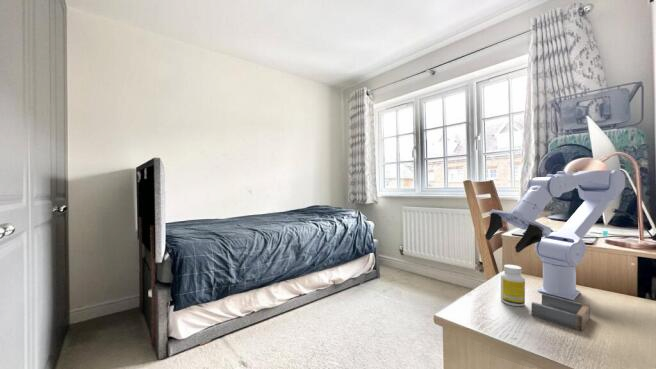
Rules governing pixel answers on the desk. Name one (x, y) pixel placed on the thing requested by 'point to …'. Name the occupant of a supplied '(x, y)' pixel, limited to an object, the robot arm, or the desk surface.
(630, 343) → the desk surface
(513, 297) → the supplement bottle
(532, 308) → the bracket
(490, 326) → the desk surface
